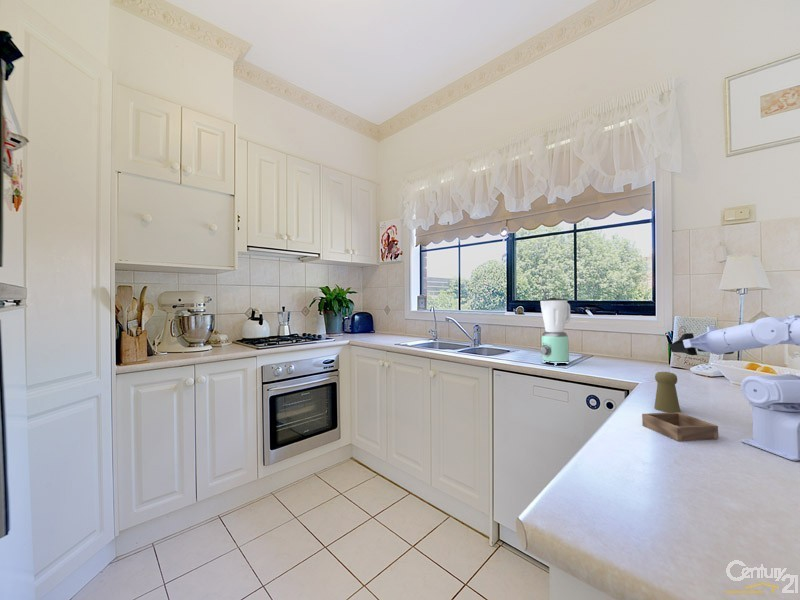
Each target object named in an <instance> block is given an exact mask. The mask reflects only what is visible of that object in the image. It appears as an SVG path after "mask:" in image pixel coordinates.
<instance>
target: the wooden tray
mask: <svg viewBox="0 0 800 600" xmlns="http://www.w3.org/2000/svg"><path fill="white" fill-rule="evenodd" d="M641 416H642V418H641V420H642V421H641V423H642V426H643V427H645V428H646V429H647V428H648V429H649V430H652V431H655V432H656V433H659V434H660V435H663V436H665V437H668V438H669V437H670V438H669V439H672V440H674V441H677V442H687V441H705V440H709V441H710V440H719V426H718V425H716V424H714V423H710V422H708V421H705V420H701V419H699V418H696V417H694V416H690V415H688V414H685V413H682V412H671V413H669V412H656V413H655V412H652V413H642V414H641Z"/></svg>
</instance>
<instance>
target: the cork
mask: <svg viewBox="0 0 800 600" xmlns="http://www.w3.org/2000/svg"><path fill="white" fill-rule="evenodd" d="M654 379H655V382H656V384H657V385H656V392H655V399H654V408H653V409H655V410H656V411H658V412H659V411H660V412H662V413H671V412H679V413H681V407H680V403H679V398H678V393H677V387H676V384H677V383H678V377H677V374H676V373H674V372H670V371H658V372H656V373H655V375H654Z"/></svg>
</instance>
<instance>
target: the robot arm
mask: <svg viewBox="0 0 800 600" xmlns="http://www.w3.org/2000/svg"><path fill="white" fill-rule="evenodd" d="M706 330H707V331H706V332H704V333H701V334H699V335H697V336H694V333H693V332H690V333H689V332H688V333H683V334H682V335H681V337H680V338H678V340H676V341H674V342H672V343H671V344H669V347H670V350H671V353H677V354H679V353H682V354H685V355H689V356H698V352H700V353H702V352H703V353H704V352H708V353H710V354H714V355H733V354H734V353H735V352H740V351H747V350H755V349H760V348H765V347H767V346H777V345H795V346H800V314H798V315H797V314H792V315H791V314H790V315H789V316H781V317H780V316H767V317H762V318H758V319H756V320H755V321H754V322H747V323H743V324H737V325H733V326H729V327H724V328H720V329H717V327H716V326H713V325H711V326H707V327H706ZM740 391H741V393H742V395H743V397H744V399H746V400H747V401H748V404H749V405H751V414H752V415H751V416H752V417H751V418H752V419H751V420H752V438H742V439H741V440H740V441H741V442H742V443H745V444H746V445H750V446H752V447H755V448H757V449H761V450H763V451H765V452H769V453H771V454H774V455H777V456H780V457H782V458H785V459H787V460H790V461H794V462H795V461H800V376H799V375H796V374H791V373H789V374H788V373H785V374H780V375H748V376H746V377H744V378H743V379H742V381H741V383H740Z"/></svg>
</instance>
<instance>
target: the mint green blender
mask: <svg viewBox="0 0 800 600" xmlns="http://www.w3.org/2000/svg"><path fill="white" fill-rule="evenodd" d="M539 302H540V308H541V309H540V311H541V315H542V320H543V321H542V322H543V326H544V330H545V331H544V332H543V333H542V334H541V347H540V354H541V361H542V360H544V361H549V362H569V363H570V347H569V346H570V345H569V336H568V334H567V333H566V332H564V331H565V325H566V324H567V323H569V322H570V320H571V304H570V303H568V299H567V298H564V299H563V298H557V297H550V298H546V299H540V300H539Z"/></svg>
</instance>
